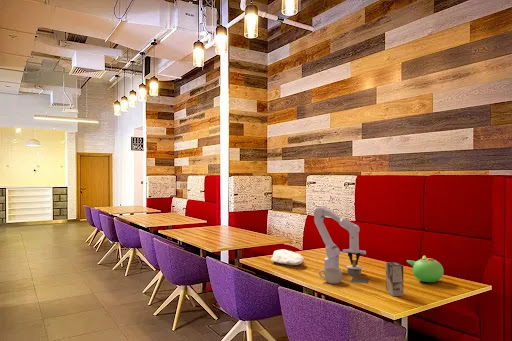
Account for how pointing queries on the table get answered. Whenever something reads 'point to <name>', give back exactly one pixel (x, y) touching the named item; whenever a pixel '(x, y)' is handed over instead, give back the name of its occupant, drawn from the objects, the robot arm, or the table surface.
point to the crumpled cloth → (287, 257)
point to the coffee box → (394, 279)
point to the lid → (354, 265)
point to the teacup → (332, 275)
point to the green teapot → (427, 269)
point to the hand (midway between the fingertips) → (354, 264)
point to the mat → (360, 280)
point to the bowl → (354, 272)
